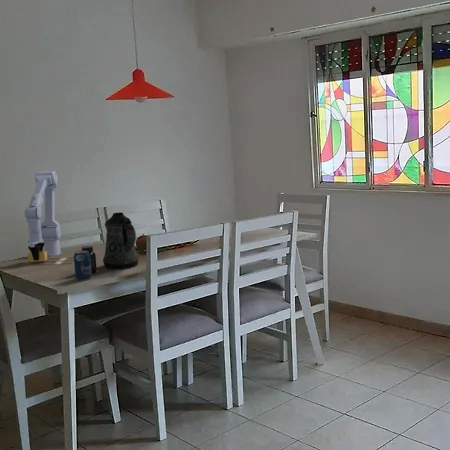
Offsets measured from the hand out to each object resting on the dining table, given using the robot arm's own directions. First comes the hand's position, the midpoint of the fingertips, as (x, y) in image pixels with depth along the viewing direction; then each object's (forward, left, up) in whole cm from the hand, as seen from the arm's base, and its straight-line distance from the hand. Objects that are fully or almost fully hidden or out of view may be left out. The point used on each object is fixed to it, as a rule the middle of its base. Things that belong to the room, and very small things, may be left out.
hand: (37, 258), depth 298 cm
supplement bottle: (+24, +30, -3) cm, 39 cm away
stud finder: (0, 0, -1) cm, 1 cm away
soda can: (+35, +30, -3) cm, 46 cm away
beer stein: (+13, +44, -3) cm, 46 cm away
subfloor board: (0, +6, -3) cm, 7 cm away
